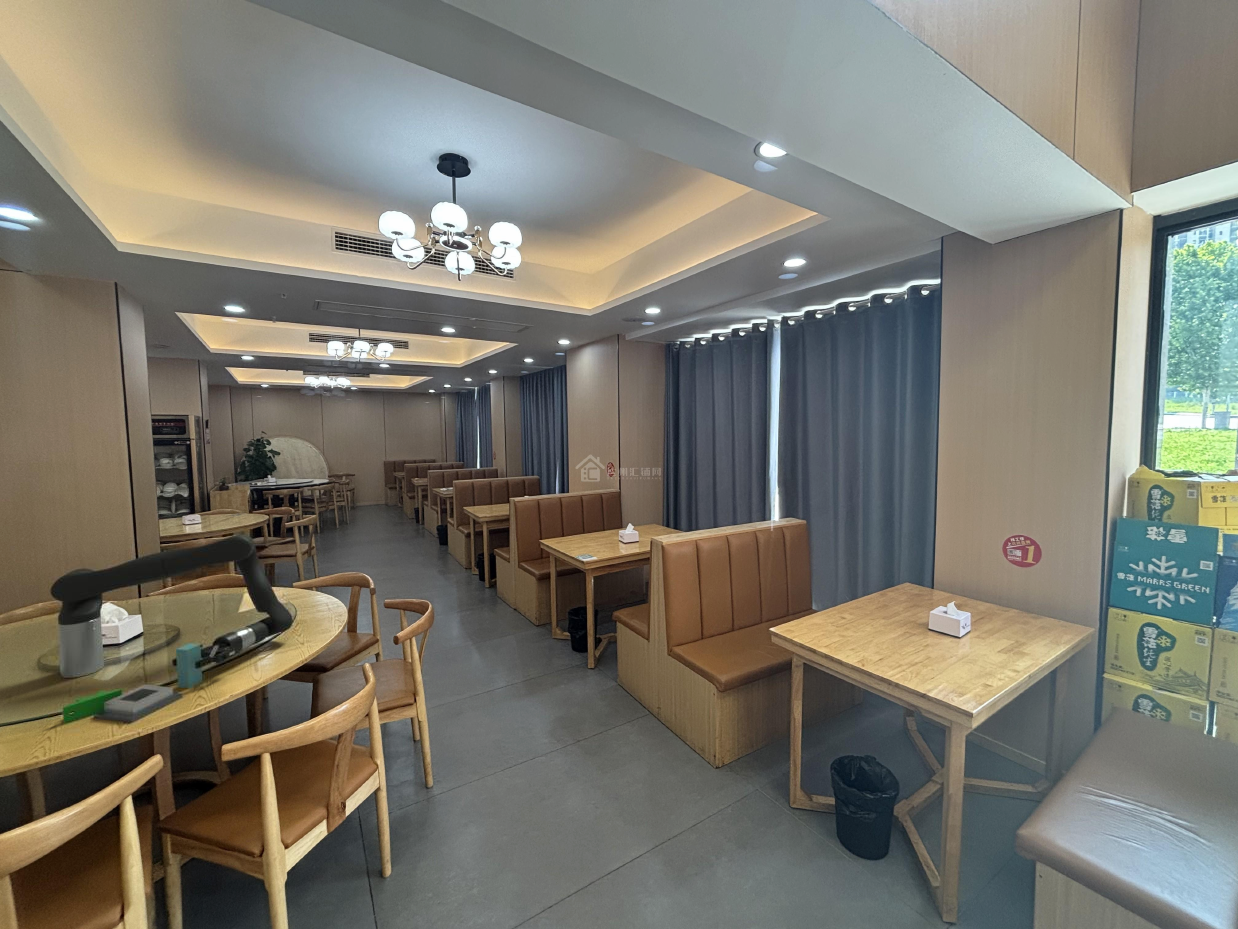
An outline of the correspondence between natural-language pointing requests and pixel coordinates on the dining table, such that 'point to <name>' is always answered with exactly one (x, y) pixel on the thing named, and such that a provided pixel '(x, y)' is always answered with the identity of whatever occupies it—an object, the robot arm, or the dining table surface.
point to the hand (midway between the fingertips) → (184, 664)
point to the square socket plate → (134, 718)
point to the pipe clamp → (88, 705)
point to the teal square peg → (188, 665)
